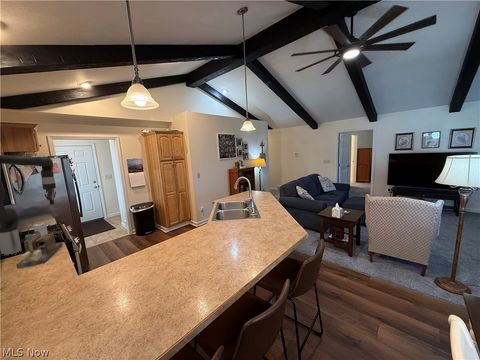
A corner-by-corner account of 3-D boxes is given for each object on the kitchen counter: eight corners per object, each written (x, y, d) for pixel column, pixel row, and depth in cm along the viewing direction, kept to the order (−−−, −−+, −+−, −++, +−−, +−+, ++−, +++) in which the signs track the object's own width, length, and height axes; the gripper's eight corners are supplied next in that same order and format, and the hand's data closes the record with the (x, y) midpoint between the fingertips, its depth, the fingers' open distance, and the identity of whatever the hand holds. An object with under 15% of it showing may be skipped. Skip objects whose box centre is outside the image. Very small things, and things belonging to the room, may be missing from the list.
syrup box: (49, 238, 174) (46, 222, 171) (41, 241, 168) (38, 225, 166) (43, 238, 174) (40, 222, 172) (35, 241, 168) (32, 225, 166)
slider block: (23, 262, 130) (18, 237, 128) (28, 258, 136) (24, 234, 133) (37, 260, 133) (32, 235, 130) (42, 256, 138) (38, 232, 136)
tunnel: (17, 268, 129) (13, 247, 127) (40, 248, 155) (37, 231, 153) (44, 263, 135) (41, 243, 132) (63, 245, 160) (60, 228, 158)
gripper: (46, 182, 161) (50, 203, 164) (37, 184, 149) (41, 207, 152) (58, 181, 164) (61, 201, 167) (50, 183, 152) (54, 205, 154)
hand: (52, 204), depth 159 cm, fingers closed
